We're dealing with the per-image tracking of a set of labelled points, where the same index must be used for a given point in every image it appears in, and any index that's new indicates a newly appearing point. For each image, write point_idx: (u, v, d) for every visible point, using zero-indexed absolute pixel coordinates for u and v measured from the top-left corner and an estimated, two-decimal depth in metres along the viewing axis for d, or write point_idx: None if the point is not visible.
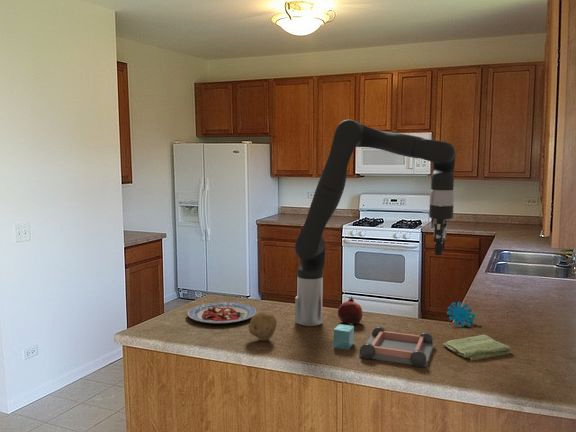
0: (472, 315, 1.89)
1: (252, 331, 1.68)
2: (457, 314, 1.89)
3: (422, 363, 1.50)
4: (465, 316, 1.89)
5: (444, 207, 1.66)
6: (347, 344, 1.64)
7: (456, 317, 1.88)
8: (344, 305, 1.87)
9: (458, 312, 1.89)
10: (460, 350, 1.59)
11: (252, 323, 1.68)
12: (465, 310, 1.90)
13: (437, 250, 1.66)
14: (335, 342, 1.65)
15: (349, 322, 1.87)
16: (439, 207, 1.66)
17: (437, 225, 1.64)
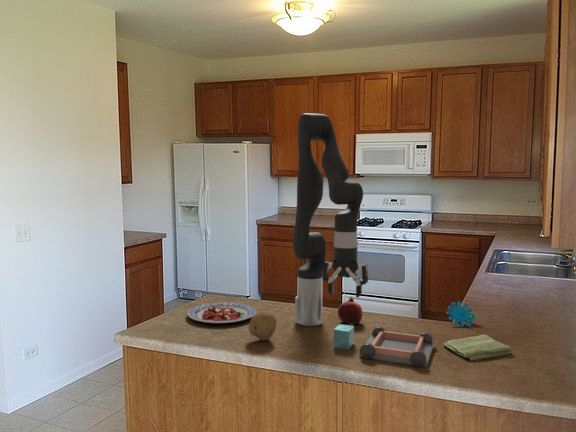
0: (472, 315, 1.89)
1: (252, 331, 1.68)
2: (457, 314, 1.89)
3: (422, 363, 1.50)
4: (465, 316, 1.89)
5: None
6: (347, 344, 1.64)
7: (456, 317, 1.88)
8: (344, 305, 1.87)
9: (458, 312, 1.90)
10: (460, 350, 1.59)
11: (252, 323, 1.68)
12: (465, 310, 1.90)
13: (360, 292, 1.63)
14: (335, 342, 1.65)
15: (349, 322, 1.87)
16: (356, 248, 1.62)
17: (366, 266, 1.62)
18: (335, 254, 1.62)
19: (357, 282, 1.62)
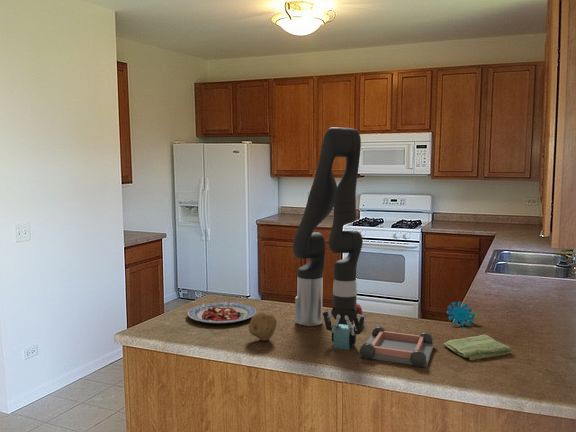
0: (472, 315, 1.89)
1: (252, 331, 1.68)
2: (457, 314, 1.89)
3: (422, 363, 1.50)
4: (465, 316, 1.89)
5: None
6: (347, 344, 1.64)
7: (455, 316, 1.89)
8: None
9: (458, 312, 1.90)
10: (460, 350, 1.59)
11: (252, 323, 1.68)
12: (465, 310, 1.91)
13: (354, 341, 1.66)
14: (335, 342, 1.65)
15: None
16: (355, 297, 1.64)
17: (364, 318, 1.63)
18: (334, 302, 1.64)
19: (351, 332, 1.65)
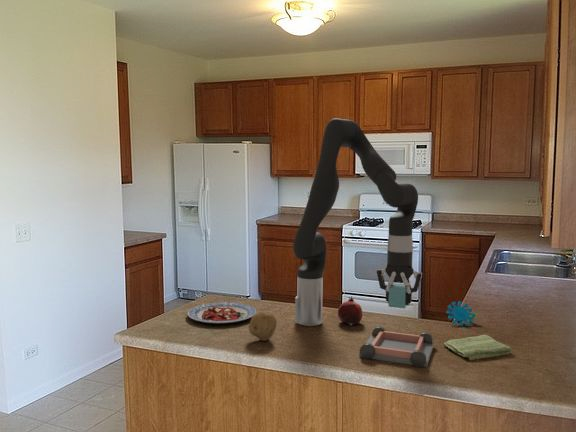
0: (472, 315, 1.90)
1: (252, 331, 1.68)
2: (456, 313, 1.90)
3: (422, 363, 1.50)
4: (464, 315, 1.89)
5: None
6: (403, 302, 1.56)
7: (455, 316, 1.89)
8: (344, 305, 1.87)
9: (457, 311, 1.90)
10: (459, 350, 1.59)
11: (252, 323, 1.68)
12: (465, 310, 1.91)
13: (410, 300, 1.58)
14: (390, 300, 1.58)
15: (349, 322, 1.87)
16: None
17: (421, 275, 1.56)
18: (390, 258, 1.57)
19: (407, 290, 1.57)
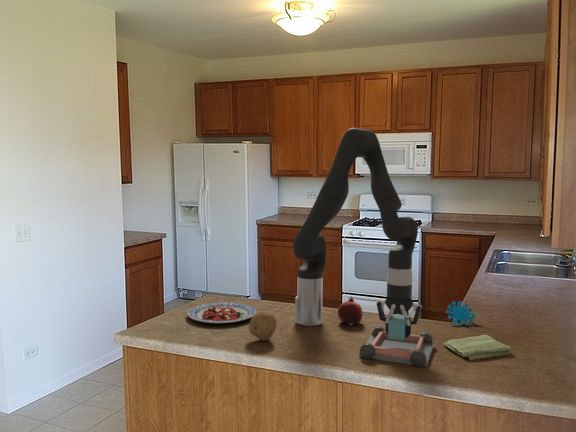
0: (472, 315, 1.90)
1: (252, 331, 1.68)
2: (456, 313, 1.90)
3: (422, 363, 1.50)
4: (464, 315, 1.89)
5: None
6: (403, 334, 1.58)
7: (455, 316, 1.89)
8: (344, 305, 1.87)
9: (457, 311, 1.90)
10: (459, 349, 1.59)
11: (252, 323, 1.68)
12: (465, 309, 1.91)
13: None
14: (390, 333, 1.59)
15: (349, 322, 1.87)
16: (411, 285, 1.58)
17: (420, 308, 1.58)
18: (389, 291, 1.58)
19: (407, 322, 1.59)
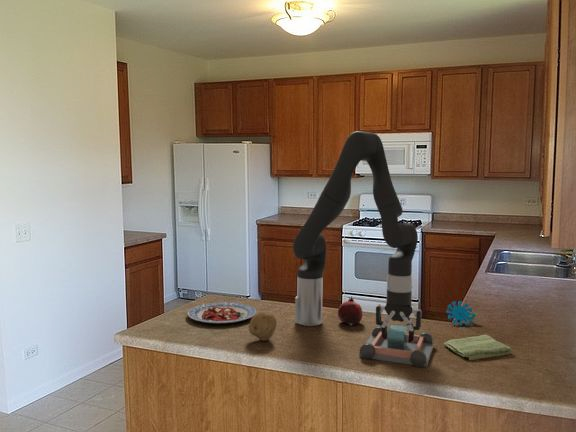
0: (472, 315, 1.90)
1: (252, 331, 1.68)
2: (456, 313, 1.90)
3: (422, 363, 1.50)
4: (464, 315, 1.90)
5: None
6: (402, 345, 1.58)
7: (455, 316, 1.89)
8: (344, 305, 1.87)
9: (457, 311, 1.91)
10: (459, 349, 1.59)
11: (252, 323, 1.68)
12: (465, 309, 1.91)
13: None
14: (389, 343, 1.60)
15: (349, 322, 1.87)
16: (411, 292, 1.58)
17: (420, 312, 1.58)
18: (389, 298, 1.58)
19: (410, 327, 1.58)
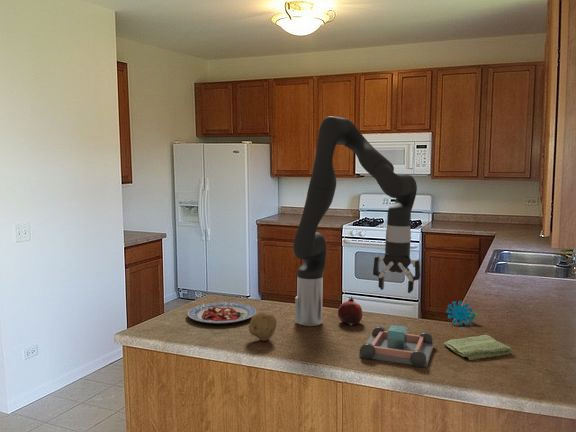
0: (472, 314, 1.90)
1: (252, 331, 1.68)
2: (456, 313, 1.90)
3: (422, 363, 1.50)
4: (464, 315, 1.90)
5: None
6: (402, 345, 1.58)
7: (454, 315, 1.90)
8: (344, 305, 1.87)
9: (457, 311, 1.91)
10: (459, 349, 1.60)
11: (252, 323, 1.68)
12: (465, 309, 1.91)
13: (412, 287, 1.60)
14: (389, 343, 1.60)
15: (349, 322, 1.87)
16: (409, 243, 1.58)
17: (419, 262, 1.58)
18: (387, 248, 1.59)
19: (409, 277, 1.59)
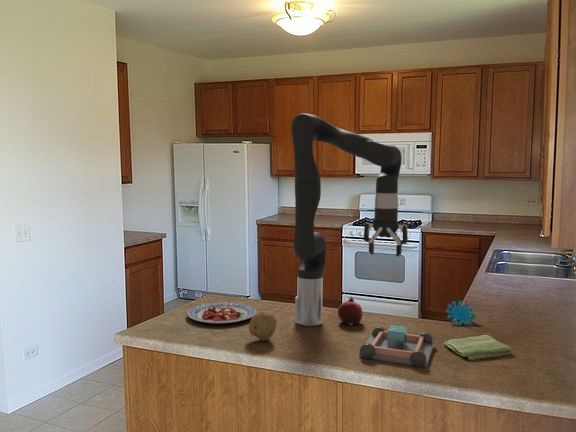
0: (472, 314, 1.90)
1: (252, 331, 1.68)
2: (456, 312, 1.91)
3: (422, 363, 1.50)
4: (464, 315, 1.90)
5: None
6: (402, 345, 1.58)
7: (454, 315, 1.90)
8: (344, 305, 1.87)
9: (457, 311, 1.91)
10: (459, 349, 1.60)
11: (252, 323, 1.68)
12: (465, 309, 1.91)
13: (400, 251, 1.70)
14: (389, 343, 1.60)
15: (349, 322, 1.87)
16: (397, 209, 1.69)
17: (406, 227, 1.69)
18: (376, 215, 1.69)
19: (397, 242, 1.69)
